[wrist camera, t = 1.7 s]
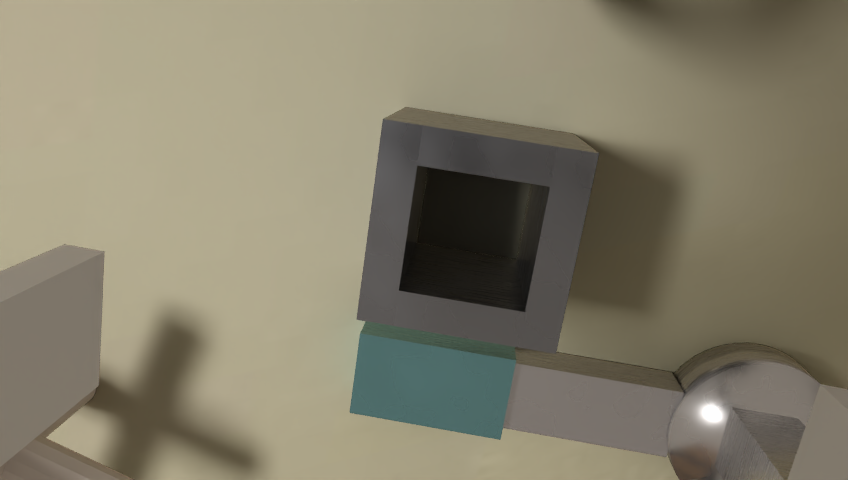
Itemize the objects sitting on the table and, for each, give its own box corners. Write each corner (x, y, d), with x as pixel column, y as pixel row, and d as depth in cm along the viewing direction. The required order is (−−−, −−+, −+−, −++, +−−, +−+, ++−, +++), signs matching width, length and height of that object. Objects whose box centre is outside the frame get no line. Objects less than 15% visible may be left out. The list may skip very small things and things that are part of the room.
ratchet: (374, 279, 28) (331, 361, 20) (839, 357, 27) (983, 476, 19) (355, 418, 29) (309, 544, 22) (793, 497, 28) (908, 657, 21)
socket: (405, 106, 26) (383, 119, 20) (573, 133, 26) (599, 153, 20) (383, 266, 28) (356, 319, 22) (540, 292, 27) (555, 354, 21)
